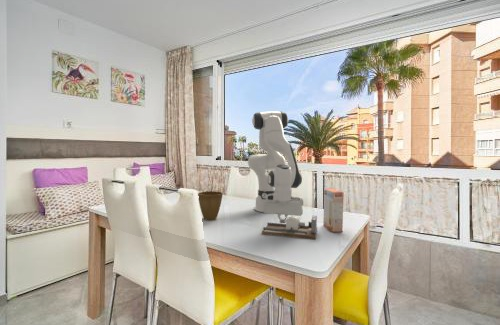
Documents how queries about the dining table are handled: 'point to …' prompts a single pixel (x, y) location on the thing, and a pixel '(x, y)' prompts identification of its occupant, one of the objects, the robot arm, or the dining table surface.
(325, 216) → the cracker box
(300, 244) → the dining table surface
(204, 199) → the plant pot
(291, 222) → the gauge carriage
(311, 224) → the grey long frame
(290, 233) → the gauge bench
